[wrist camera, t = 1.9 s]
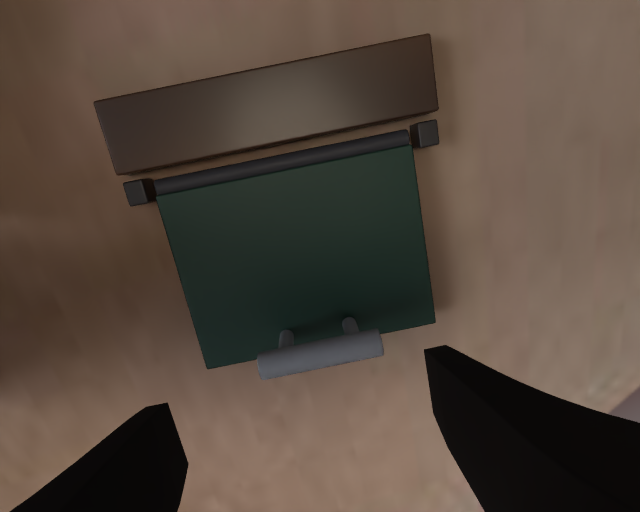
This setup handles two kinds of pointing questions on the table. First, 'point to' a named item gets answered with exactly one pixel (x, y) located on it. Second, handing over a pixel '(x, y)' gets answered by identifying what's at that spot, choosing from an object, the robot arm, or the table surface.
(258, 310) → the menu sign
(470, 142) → the table surface
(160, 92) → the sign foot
